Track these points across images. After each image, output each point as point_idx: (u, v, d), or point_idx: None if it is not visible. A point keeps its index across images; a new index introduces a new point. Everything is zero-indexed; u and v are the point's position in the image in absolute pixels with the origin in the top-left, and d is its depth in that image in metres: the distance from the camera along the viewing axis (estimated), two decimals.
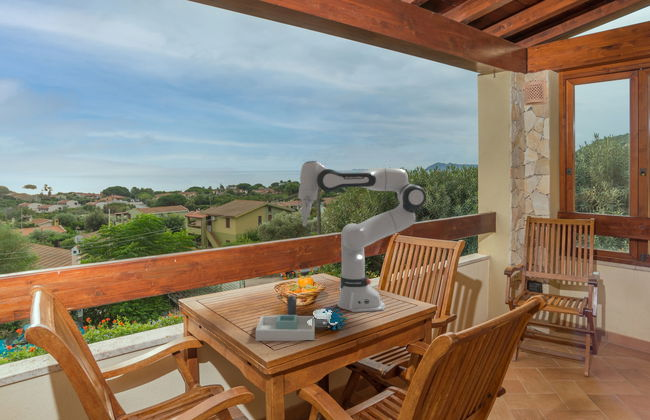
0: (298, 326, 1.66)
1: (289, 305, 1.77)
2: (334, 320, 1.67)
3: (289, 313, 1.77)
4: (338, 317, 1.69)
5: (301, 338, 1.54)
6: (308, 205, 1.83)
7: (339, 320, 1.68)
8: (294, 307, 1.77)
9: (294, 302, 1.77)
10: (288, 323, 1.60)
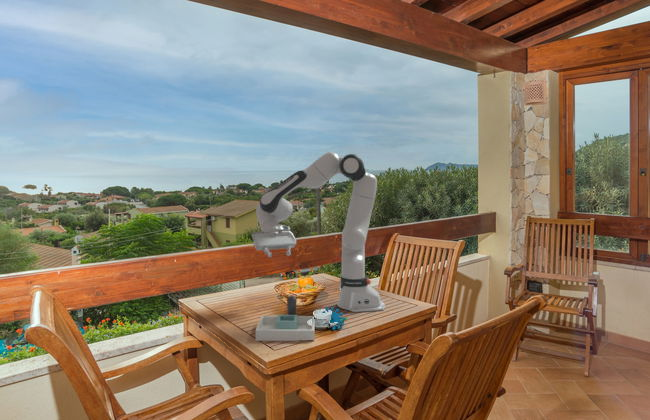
0: (298, 326, 1.66)
1: (289, 305, 1.77)
2: (334, 320, 1.67)
3: (289, 313, 1.77)
4: (338, 317, 1.69)
5: (301, 338, 1.54)
6: (255, 237, 1.87)
7: (339, 320, 1.68)
8: (294, 307, 1.77)
9: (294, 302, 1.77)
10: (288, 323, 1.60)
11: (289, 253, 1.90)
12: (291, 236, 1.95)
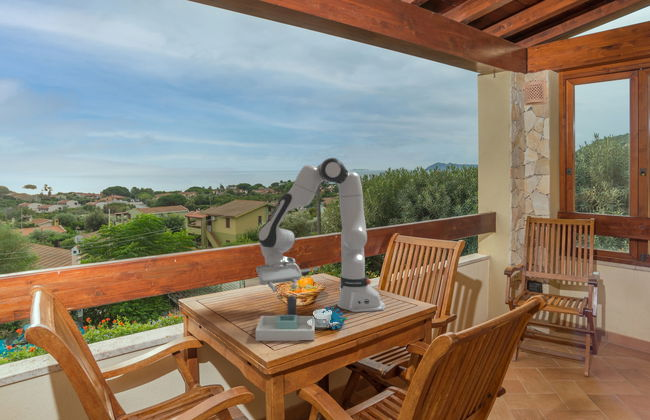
0: (298, 326, 1.66)
1: (289, 305, 1.77)
2: (334, 320, 1.67)
3: (289, 313, 1.77)
4: (338, 317, 1.69)
5: (301, 338, 1.54)
6: (259, 272, 1.84)
7: (339, 320, 1.68)
8: (294, 307, 1.77)
9: (294, 302, 1.77)
10: (288, 323, 1.60)
11: (294, 287, 1.86)
12: (296, 268, 1.92)
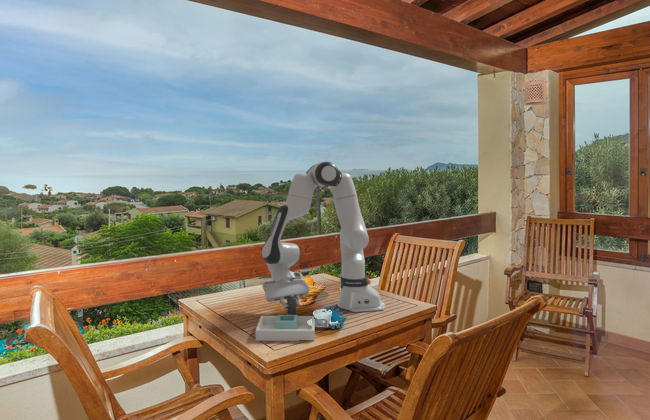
0: (298, 326, 1.66)
1: (289, 305, 1.77)
2: (334, 319, 1.68)
3: (289, 313, 1.77)
4: (338, 317, 1.69)
5: (301, 338, 1.54)
6: (266, 288, 1.78)
7: (339, 320, 1.68)
8: (294, 307, 1.77)
9: (294, 302, 1.77)
10: (288, 323, 1.60)
11: (298, 304, 1.79)
12: (303, 284, 1.86)
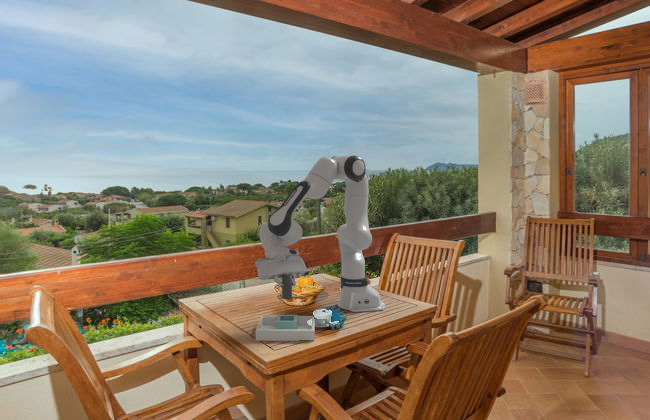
0: (298, 326, 1.66)
1: (284, 284, 1.61)
2: (333, 319, 1.68)
3: (284, 292, 1.62)
4: (338, 316, 1.69)
5: (301, 338, 1.54)
6: (258, 265, 1.62)
7: (339, 319, 1.68)
8: (289, 286, 1.62)
9: (290, 280, 1.61)
10: (288, 323, 1.60)
11: (294, 283, 1.64)
12: (300, 262, 1.70)
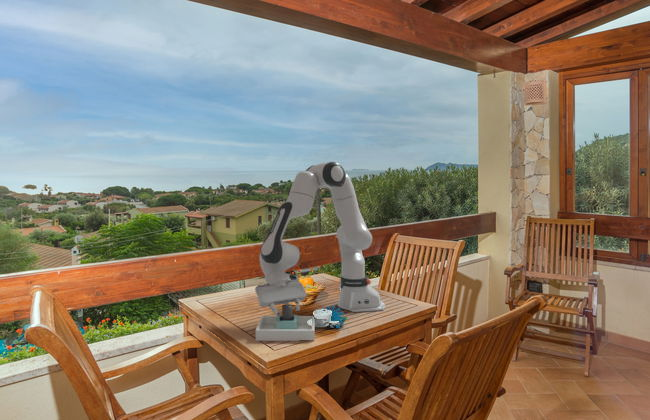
0: (298, 326, 1.66)
1: (284, 314, 1.62)
2: (333, 319, 1.68)
3: None
4: (338, 316, 1.70)
5: (301, 338, 1.54)
6: (259, 292, 1.63)
7: (339, 319, 1.69)
8: (290, 316, 1.63)
9: (290, 310, 1.63)
10: (288, 323, 1.60)
11: (298, 308, 1.65)
12: (300, 287, 1.71)
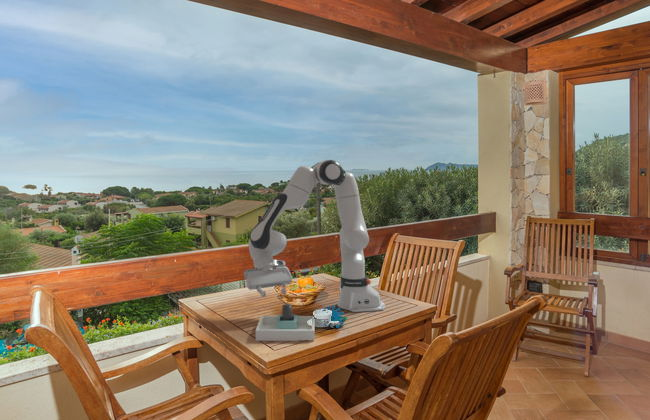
0: (298, 326, 1.66)
1: (284, 314, 1.62)
2: (333, 319, 1.69)
3: None
4: (338, 316, 1.70)
5: (301, 338, 1.54)
6: (247, 276, 1.74)
7: (339, 319, 1.69)
8: (290, 316, 1.63)
9: (290, 311, 1.62)
10: (288, 323, 1.60)
11: (284, 291, 1.76)
12: (286, 272, 1.82)
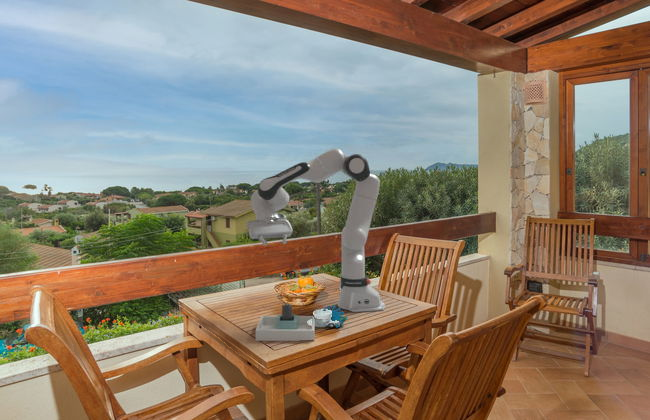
0: (298, 326, 1.66)
1: (284, 314, 1.62)
2: (333, 318, 1.69)
3: None
4: (338, 316, 1.70)
5: (301, 338, 1.54)
6: (249, 226, 1.83)
7: (339, 319, 1.69)
8: (289, 316, 1.63)
9: (289, 311, 1.62)
10: (288, 323, 1.60)
11: (285, 241, 1.85)
12: (287, 224, 1.90)
